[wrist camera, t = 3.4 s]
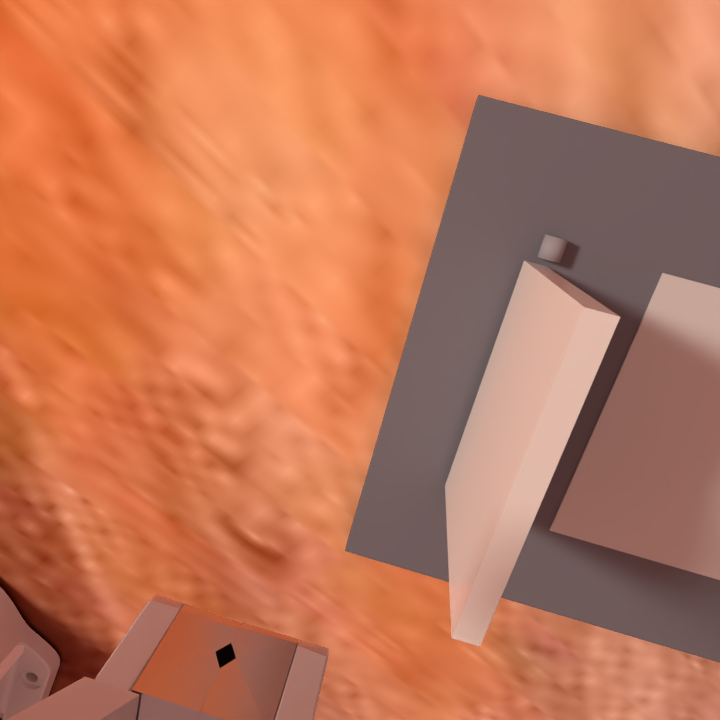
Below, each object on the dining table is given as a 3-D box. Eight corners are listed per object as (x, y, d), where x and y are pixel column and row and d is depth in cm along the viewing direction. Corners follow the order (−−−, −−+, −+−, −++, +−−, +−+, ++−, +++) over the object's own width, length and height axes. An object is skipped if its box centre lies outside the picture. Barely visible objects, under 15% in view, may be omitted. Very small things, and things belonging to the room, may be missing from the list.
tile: (467, 492, 28) (485, 648, 18) (445, 485, 28) (451, 638, 18) (550, 267, 24) (627, 318, 14) (524, 260, 24) (584, 307, 15)
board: (722, 653, 30) (739, 679, 29) (347, 542, 31) (342, 561, 30) (989, 230, 22) (1032, 233, 21) (477, 98, 23) (480, 91, 22)
